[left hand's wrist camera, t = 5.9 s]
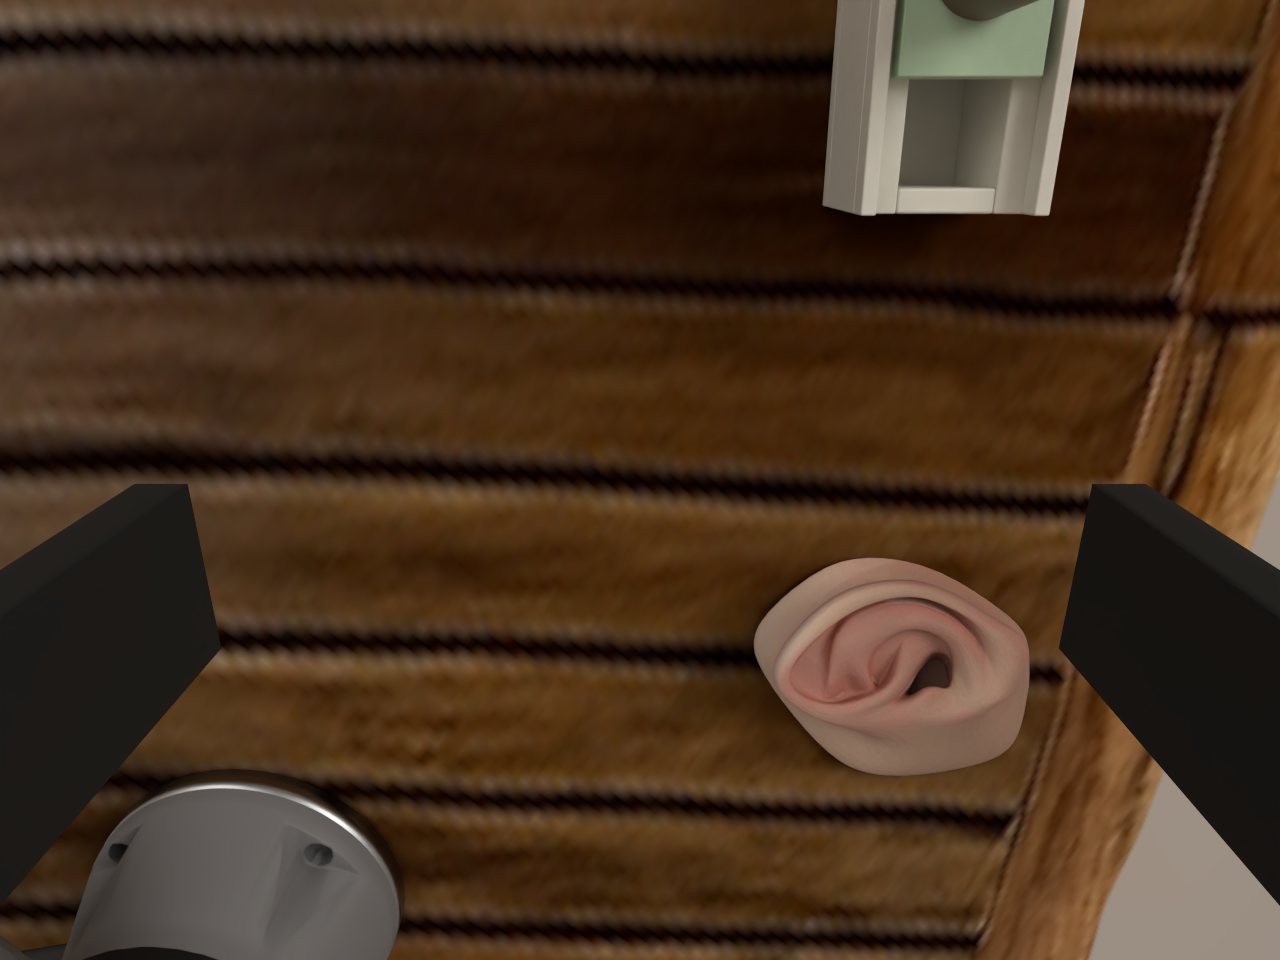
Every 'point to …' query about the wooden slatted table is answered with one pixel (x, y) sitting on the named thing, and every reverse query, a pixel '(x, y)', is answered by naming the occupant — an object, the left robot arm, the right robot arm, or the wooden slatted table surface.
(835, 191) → the pencil box
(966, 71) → the sliding lid
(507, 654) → the wooden slatted table surface
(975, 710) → the anatomical model
